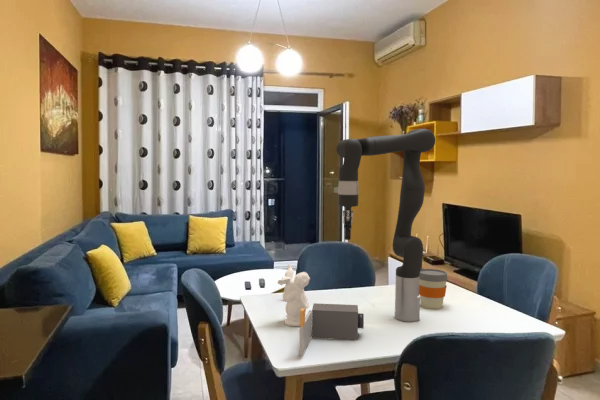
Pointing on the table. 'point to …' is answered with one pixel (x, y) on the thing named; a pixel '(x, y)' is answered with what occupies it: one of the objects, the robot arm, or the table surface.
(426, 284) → the reusable coffee cup
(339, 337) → the camera housing
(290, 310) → the cherub figurine
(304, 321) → the door
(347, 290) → the table surface
